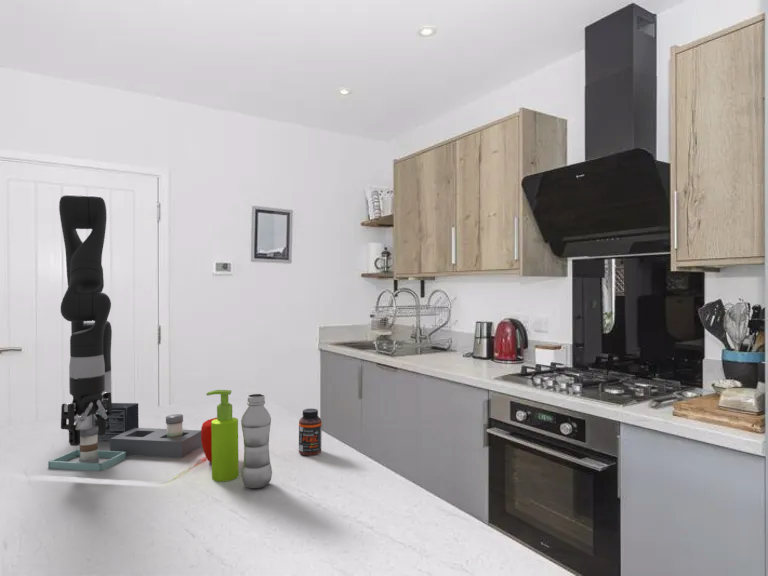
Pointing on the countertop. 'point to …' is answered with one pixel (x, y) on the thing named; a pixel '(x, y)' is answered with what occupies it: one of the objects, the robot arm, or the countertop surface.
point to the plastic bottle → (256, 443)
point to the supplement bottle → (310, 433)
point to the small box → (119, 420)
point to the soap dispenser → (224, 440)
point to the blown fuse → (89, 444)
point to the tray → (61, 463)
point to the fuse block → (158, 440)
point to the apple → (207, 439)
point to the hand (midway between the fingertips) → (88, 439)
